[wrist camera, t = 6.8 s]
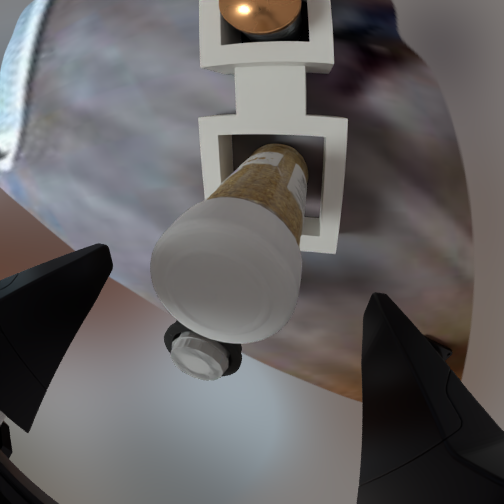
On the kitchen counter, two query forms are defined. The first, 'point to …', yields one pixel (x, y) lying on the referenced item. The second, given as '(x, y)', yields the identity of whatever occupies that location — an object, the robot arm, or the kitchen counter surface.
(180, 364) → the push button
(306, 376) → the kitchen counter surface
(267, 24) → the copper and black cylinder
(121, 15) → the kitchen counter surface
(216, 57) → the housing
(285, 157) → the sprinkles bottle
